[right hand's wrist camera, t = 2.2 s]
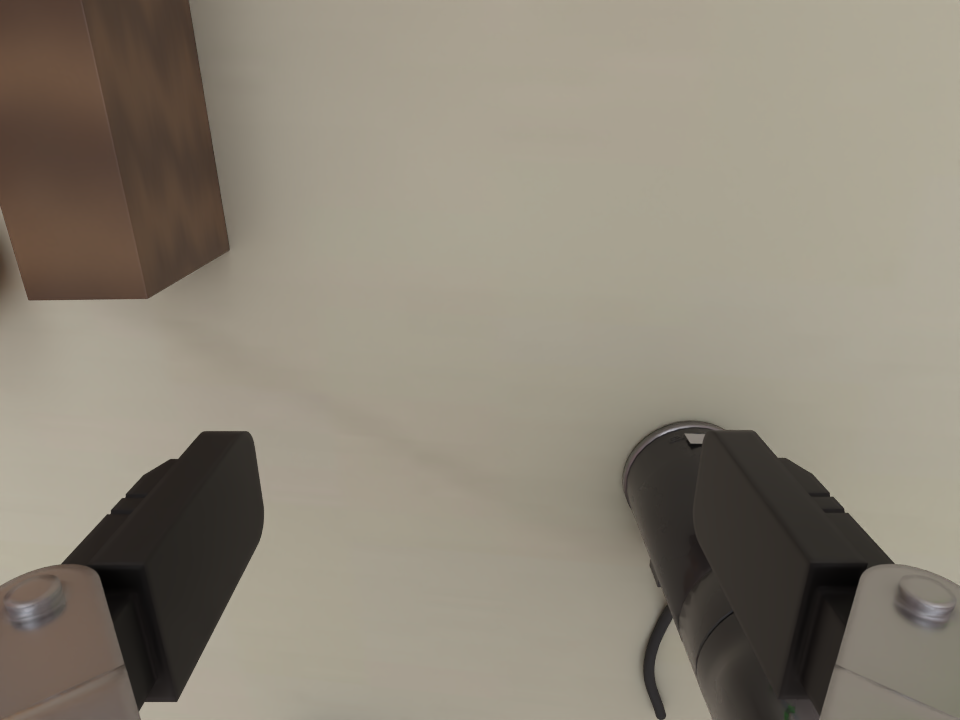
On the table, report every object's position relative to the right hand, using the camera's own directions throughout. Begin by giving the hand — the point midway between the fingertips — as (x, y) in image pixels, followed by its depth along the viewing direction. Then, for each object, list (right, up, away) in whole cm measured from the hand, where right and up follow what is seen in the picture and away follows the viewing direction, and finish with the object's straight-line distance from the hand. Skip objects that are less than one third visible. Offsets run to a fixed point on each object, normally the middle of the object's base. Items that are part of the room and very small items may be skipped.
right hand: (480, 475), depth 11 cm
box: (-20, +21, +25) cm, 38 cm away
